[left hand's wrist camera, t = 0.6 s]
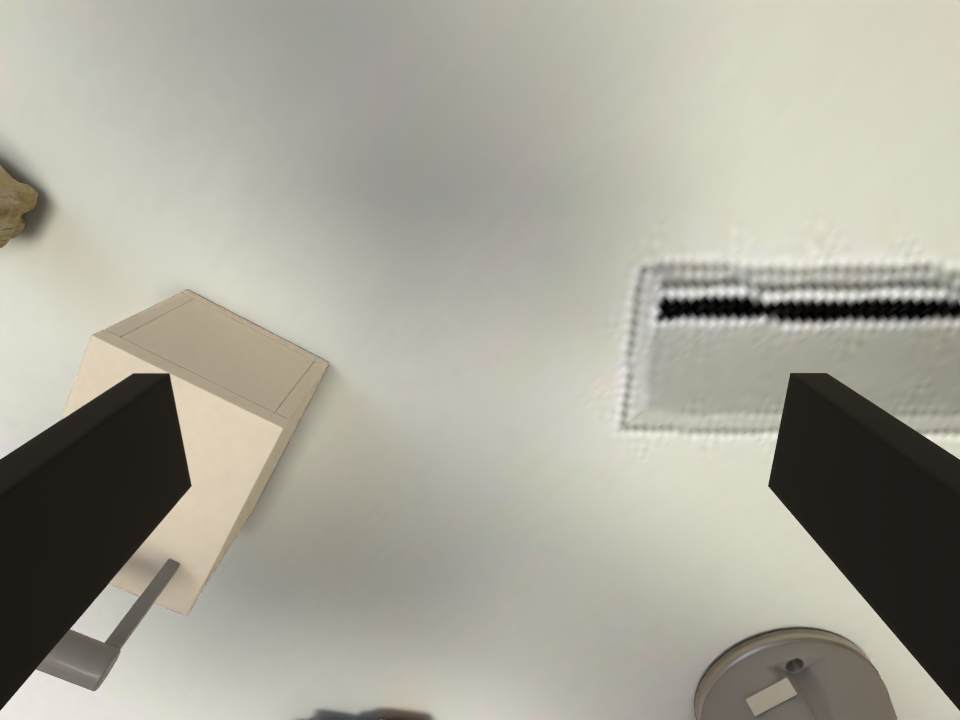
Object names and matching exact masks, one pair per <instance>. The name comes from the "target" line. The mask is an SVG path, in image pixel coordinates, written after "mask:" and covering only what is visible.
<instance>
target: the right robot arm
mask: <svg viewBox="0 0 960 720" xmlns="http://www.w3.org/2000/svg"><path fill="white" fill-rule="evenodd" d="M695 714H696V719H697V720H897V717H896V714H895V711H894V708H893V705H892V703H891V700H890V697H889V694H888V691H887V688H886V686H885V684H884V682H883V681H882V679H881V677H880V675H879V673H878V672H877V670H876V669H875V667H874V666H873V665H872V663H871V662H870V661H869V660H868V658H867V657H866V656H865V654H864V653H863V652H862V651H861V650H860V649H859V648H858V647H857V646H855V645H854V644H853V643H851V642H850V641H848V640H846V639H844V638H842V637H840V636H838V635H835V634H832V633H828V632H825V631H819V630H812V629H789V630H781V631H776V632H771V633H767V634H764V635H760V636H758V637H755V638H752V639H750V640H748V641H746V642H743V643H742V644H740V645H738V646H736V647H734V648H733V649H731V650H730V651H728V652H727V653H726V654H724V655H723V656H722V657H721V658H720V659H719V660H717V661H716V662H715V663H714V664H713V666H712V667H711V668H710V669H709V670H708V672H707V673H706V674H705V676H704V677H703V679H702V681H701V683H700V685H699V687H698V690H697V693H696V698H695Z"/></svg>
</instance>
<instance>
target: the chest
mask: <svg viewBox="0 0 960 720" xmlns="http://www.w3.org/2000/svg"><path fill="white" fill-rule="evenodd" d="M105 330H106V331H108V332H110V333H112V334H114V335H116V336H118V337H120V338H122V339H124V340H126V341H128V342H130V343H132V344H134V345H136V346H138V347H141V348H143V349H145V350H147V351H149V352H151V353H153V354H155V355H157V356H159V357H161V358H163V359H165V360H167V361H169V362H171V363H173V364H175V365H177V366H179V367H181V368H183V369H185V370H187V371H189V372H191V373H194V374H196V375H198V376H200V377H202V378H204V379H206V380H208V381H210V382H212V383H214V384H216V385H218V386H220V387H222V388H224V389H226V390H228V391H230V392H232V393H234V394H236V395H238V396H240V397H242V398H245V399H247V400H249V401H251V402H253V403H255V404H257V405H259V406H261V407H263V408H265V409H267V410H269V411H271V412H273V413H275V414H277V415H279V416H281V417H283V418H285V419H287V420H289V422H288V424H287V426H286V428H285V430H284V432H283V434H282V435H281V437H280V439H279V441H278V443H277V445H276V447H275V449H274V451H273V453H272V455H271V457H270V459H269V461H268V463H267V465H266V467H265V469H264V470H263V472H262V474H261V476H260V478H259V480H258V482H257V484H256V486H255V488H254V490H253V492H252V494H251V496H250V498H249V500H248V502H247V504H246V505H245V507H244V509H243V511H242V513H241V515H240V517H239V519H238V521H237V523H236V525H235V527H234V529H233V531H232V533H231V535H230V537H229V539H228V540H227V542H226V544H225V546H224V548H223V550H222V552H221V554H220V556H219V558H218V560H217V562H216V564H215V566H214V568H213V570H212V572H211V574H210V575H209V577H208V579H207V581H206V583H205V585H206V584H207V582H208V580H209V579H210V577H211V576H212V574H213V573H214V571H215V569H216V568H217V566H218V565H219V563H220V561H221V560H222V558H223V557H224V555H225V553H226V552H227V550H228V549H229V547H230V546H231V544H232V542H233V541H234V539H235V538H236V536H237V534H238V533H239V531H240V530H241V528H242V526H243V525H244V523H245V522H246V520H247V518H248V517H249V515H250V514H251V512H252V511H253V509H254V507H255V505H256V503H257V501H258V499H259V498H260V496H261V494H262V492H263V490H264V488H265V486H266V484H267V482H268V480H269V478H270V476H271V474H272V473H273V471H274V469H275V467H276V465H277V463H278V461H279V459H280V457H281V455H282V453H283V451H284V450H285V448H286V446H287V444H288V442H289V440H290V438H291V436H292V434H293V432H294V430H295V428H296V426H297V425H298V423H299V421H300V419H301V417H302V415H303V413H304V411H305V409H306V407H307V405H308V403H309V402H310V400H311V398H312V396H313V394H314V392H315V390H316V388H317V386H318V384H319V382H320V380H321V378H322V377H323V375H324V373H325V371H326V369H327V367H328V365H329V363H328V362H327V361H325V360H323V359H321V358H319V357H317V356H315V355H313V354H311V353H309V352H307V351H305V350H303V349H301V348H299V347H298V346H296V345H294V344H292V343H290V342H288V341H286V340H284V339H282V338H280V337H278V336H276V335H274V334H272V333H270V332H268V331H266V330H265V329H263V328H261V327H259V326H257V325H255V324H253V323H251V322H249V321H247V320H245V319H243V318H241V317H239V316H237V315H235V314H233V313H232V312H230V311H228V310H226V309H224V308H222V307H220V306H218V305H216V304H214V303H212V302H210V301H208V300H206V299H204V298H202V297H200V296H199V295H197V294H195V293H193V292H191V291H189V290H185V291H183V292H181V293H179V294H177V295H175V296H173V297H171V298H169V299H166V300H164V301H162V302H160V303H158V304H156V305H154V306H152V307H150V308H148V309H146V310H144V311H142V312H140V313H137V314H135V315H133V316H131V317H129V318H127V319H125V320H123V321H121V322H119V323H117V324H115V325H113V326H110V327H108V328H106V329H105ZM205 585H204V587H205ZM204 587H203V588H204ZM202 590H203V589H202ZM201 592H202V591H201Z"/></svg>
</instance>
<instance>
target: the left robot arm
mask: <svg viewBox="0 0 960 720" xmlns="http://www.w3.org/2000/svg"><path fill="white" fill-rule="evenodd" d="M191 486H192V485H191V480H190V475H189V470H188V464H187V459H186V454H185V449H184V444H183V439H182V434H181V429H180V424H179V419H178V414H177V409H176V403H175V398H174V393H173V388H172V383H171V378H170V373H133V374H131V375H130V376H128V377H127V378H125V379H124V380H122V381H121V382H119V383H117V384H116V385H114V386H113V387H111V388H110V389H108V390H107V391H105V392H104V393H102V394H101V395H99V396H97V397H96V398H94V399H93V400H91V401H90V402H88V403H87V404H85V405H84V406H82V407H81V408H79V409H77V410H76V411H74V412H73V413H71V414H70V415H68V416H67V417H65V418H64V419H62V420H61V421H59V422H57V423H56V424H54V425H53V426H51V427H50V428H48V429H47V430H45V431H44V432H42V433H41V434H39V435H37V436H36V437H34V438H33V439H31V440H30V441H28V442H27V443H25V444H24V445H22V446H21V447H19V448H17V449H16V450H14V451H13V452H11V453H10V454H8V455H7V456H5V457H4V458H2V459H0V710H1V709H2V708H3V707H4V706H5V704H6V703H7V702H8V701H9V700H10V699H11V697H12V696H13V695H14V694H15V693H16V692H17V690H18V689H19V688H20V687H21V686H22V685H23V683H24V682H25V681H26V680H27V679H28V677H29V676H30V675H31V674H32V673H33V672H34V670H35V669H36V668H37V667H38V666H39V665H40V663H41V662H42V661H43V660H44V659H45V658H46V656H47V655H48V654H49V653H50V652H51V651H52V649H53V648H54V647H55V646H56V645H57V643H58V642H59V641H60V640H61V639H62V638H63V636H64V635H65V634H66V633H67V632H68V631H69V629H70V628H71V627H72V626H73V625H74V624H75V622H76V621H77V620H78V619H79V618H80V616H81V615H82V614H83V613H84V612H85V611H86V609H87V608H88V607H89V606H90V605H91V604H92V602H93V601H94V600H95V599H96V598H97V597H98V595H99V594H100V593H101V592H102V591H103V590H104V588H105V587H106V586H107V585H108V584H109V582H110V581H111V580H112V579H113V578H114V577H115V575H116V574H117V573H118V572H119V571H120V570H121V568H122V567H123V566H124V565H125V564H126V563H127V561H128V560H129V559H130V558H131V557H132V556H133V554H134V553H135V552H136V551H137V550H138V548H139V547H140V546H141V545H142V544H143V543H144V541H145V540H146V539H147V538H148V537H149V536H150V534H151V533H152V532H153V531H154V530H155V529H156V527H157V526H158V525H159V524H160V523H161V521H162V520H163V519H164V518H165V517H166V516H167V514H168V513H169V512H170V511H171V510H172V509H173V507H174V506H175V505H176V504H177V503H178V502H179V500H180V499H181V498H182V497H183V496H184V495H185V493H186V492H187V491H188V490H189V489H190V487H191ZM768 486H769V487H770V489H771V490H772V491H773V492H774V493H775V495H776V496H777V497H778V498H779V499H780V500H781V502H782V503H783V504H784V505H785V506H786V507H787V509H788V510H789V511H790V512H791V513H792V514H793V516H794V517H795V518H796V519H797V520H798V521H799V523H800V524H801V525H802V526H803V527H804V529H805V530H806V531H807V532H808V533H809V534H810V536H811V537H812V538H813V539H814V540H815V541H816V543H817V544H818V545H819V546H820V547H821V548H822V550H823V551H824V552H825V553H826V554H827V556H828V557H829V558H830V559H831V560H832V561H833V563H834V564H835V565H836V566H837V567H838V568H839V570H840V571H841V572H842V573H843V574H844V575H845V577H846V578H847V579H848V580H849V581H850V582H851V584H852V585H853V586H854V587H855V588H856V590H857V591H858V592H859V593H860V594H861V595H862V597H863V598H864V599H865V600H866V601H867V602H868V604H869V605H870V606H871V607H872V608H873V609H874V611H875V612H876V613H877V614H878V615H879V616H880V618H881V619H882V620H883V621H884V622H885V624H886V625H887V626H888V627H889V628H890V629H891V631H892V632H893V633H894V634H895V635H896V636H897V638H898V639H899V640H900V641H901V642H902V643H903V645H904V646H905V647H906V648H907V649H908V651H909V652H910V653H911V654H912V655H913V656H914V658H915V659H916V660H917V661H918V662H919V663H920V665H921V666H922V667H923V668H924V669H925V670H926V672H927V673H928V674H929V675H930V676H931V677H932V679H933V680H934V681H935V682H936V683H937V685H938V686H939V687H940V688H941V689H942V690H943V692H944V693H945V694H946V695H947V696H948V697H949V699H950V700H951V701H952V702H953V703H954V704H955V706H956V707H957V708H958V709H959V710H960V459H958V458H956V457H955V456H953V455H952V454H950V453H949V452H947V451H946V450H944V449H943V448H941V447H939V446H938V445H936V444H935V443H933V442H932V441H930V440H929V439H927V438H926V437H924V436H923V435H921V434H919V433H918V432H916V431H915V430H913V429H912V428H910V427H909V426H907V425H906V424H904V423H903V422H901V421H899V420H898V419H896V418H895V417H893V416H892V415H890V414H889V413H887V412H886V411H884V410H883V409H881V408H879V407H878V406H876V405H875V404H873V403H872V402H870V401H869V400H867V399H866V398H864V397H863V396H861V395H859V394H858V393H856V392H855V391H853V390H852V389H850V388H849V387H847V386H846V385H844V384H843V383H841V382H839V381H838V380H836V379H835V378H833V377H832V376H830V375H829V374H827V373H790V378H789V383H788V388H787V393H786V398H785V403H784V409H783V414H782V419H781V424H780V429H779V434H778V439H777V444H776V449H775V454H774V459H773V464H772V470H771V475H770V480H769V485H768Z"/></svg>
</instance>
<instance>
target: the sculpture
mask: <svg viewBox="0 0 960 720" xmlns="http://www.w3.org/2000/svg"><path fill="white" fill-rule="evenodd" d="M37 199H38V192H37V191H36V190H35V189H34V188H32V187H31V186H30V185H28V184H25V183H20V182H18V181H16V180H15V179H13V178H12V177H11V176H10V175H9V174H8V173H7V172H6V170H5V169H4V168H3V167H2V166H1V165H0V248H2V247H3V246H4V245H5V244H7V242H8V241H9V239H10V238H14V237H17V236H19V235H20V233H21V232H22V230H23V229H24V227H25V221H24V219H23V218H22V217H21V216H22V215H23V214H25V213H27V212H29V211H31V210H32V209H33V208H34V207H35V205H36V202H37Z"/></svg>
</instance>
